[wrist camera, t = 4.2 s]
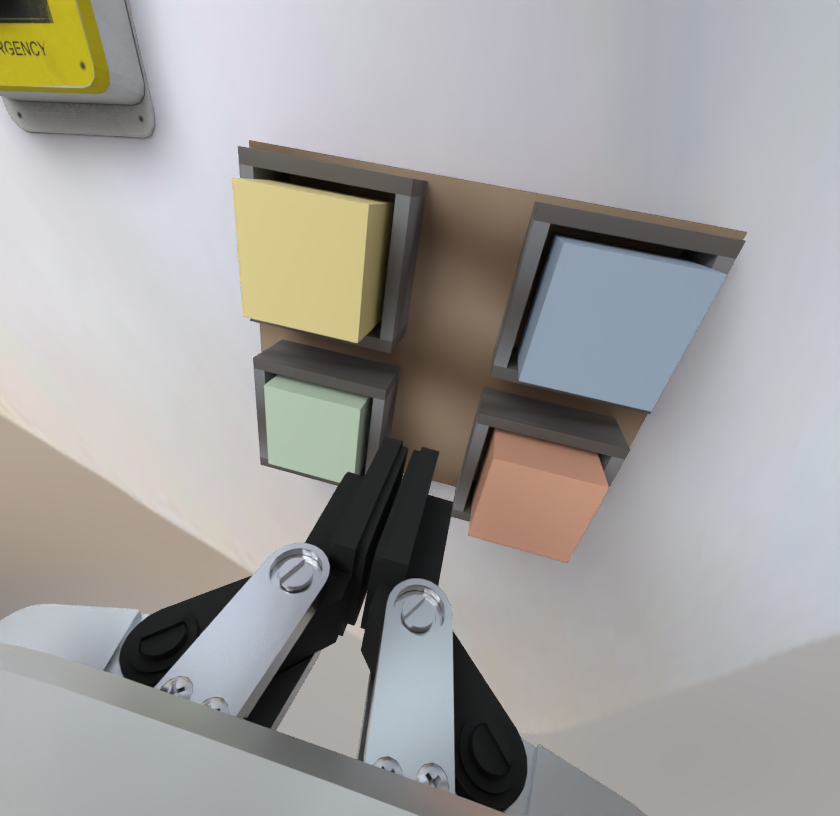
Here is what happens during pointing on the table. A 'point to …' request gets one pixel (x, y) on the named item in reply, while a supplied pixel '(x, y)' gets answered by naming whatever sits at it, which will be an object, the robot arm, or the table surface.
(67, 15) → the emergency button
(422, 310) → the console
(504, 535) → the terracotta button
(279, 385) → the sage button
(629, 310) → the slate button
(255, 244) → the mustard button
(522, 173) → the table surface
